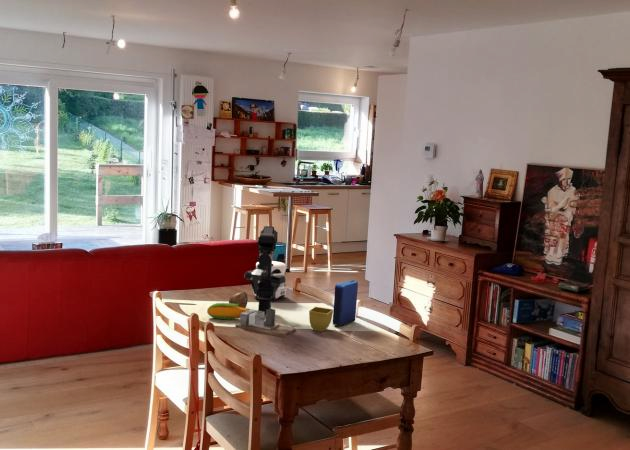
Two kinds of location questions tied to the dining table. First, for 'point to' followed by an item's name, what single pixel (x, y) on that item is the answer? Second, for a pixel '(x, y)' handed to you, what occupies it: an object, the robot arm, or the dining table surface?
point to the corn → (225, 311)
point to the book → (345, 303)
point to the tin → (239, 299)
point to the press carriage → (258, 319)
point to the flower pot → (320, 318)
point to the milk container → (277, 269)
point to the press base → (276, 331)
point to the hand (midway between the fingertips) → (263, 295)
